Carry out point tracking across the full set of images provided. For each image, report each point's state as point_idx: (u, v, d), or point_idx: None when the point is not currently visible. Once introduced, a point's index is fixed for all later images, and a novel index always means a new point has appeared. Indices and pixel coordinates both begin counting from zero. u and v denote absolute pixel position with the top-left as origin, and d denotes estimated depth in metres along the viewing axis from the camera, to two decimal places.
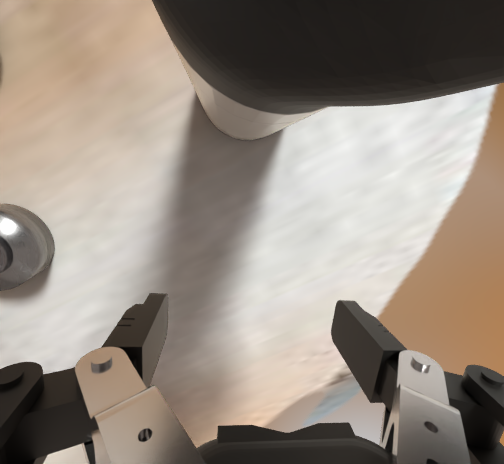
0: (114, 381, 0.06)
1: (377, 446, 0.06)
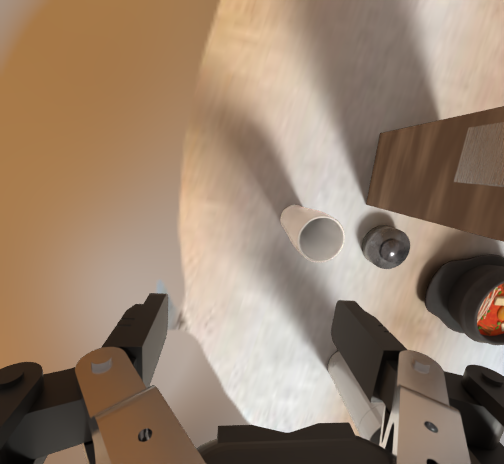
0: (114, 381, 0.06)
1: (377, 446, 0.06)
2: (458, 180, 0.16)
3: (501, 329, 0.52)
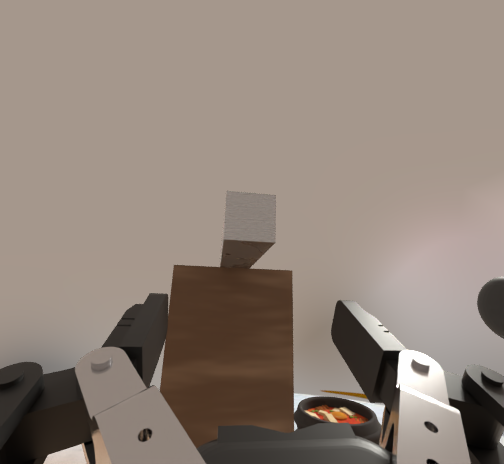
0: (114, 381, 0.06)
1: (377, 446, 0.06)
2: (273, 237, 0.16)
3: (354, 414, 0.54)
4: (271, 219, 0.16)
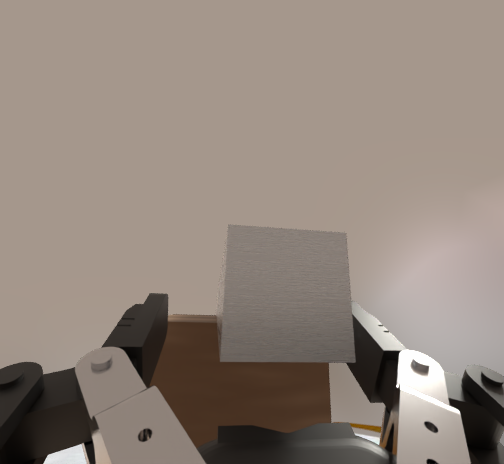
0: (114, 381, 0.06)
1: (377, 446, 0.06)
2: (350, 347, 0.06)
3: None
4: (341, 297, 0.06)
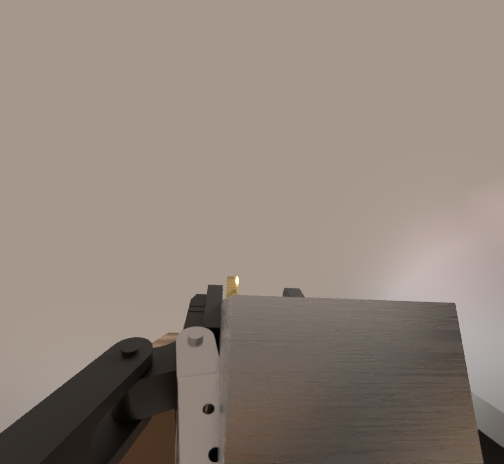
0: (213, 353, 0.08)
1: None
2: None
3: None
4: (462, 444, 0.03)
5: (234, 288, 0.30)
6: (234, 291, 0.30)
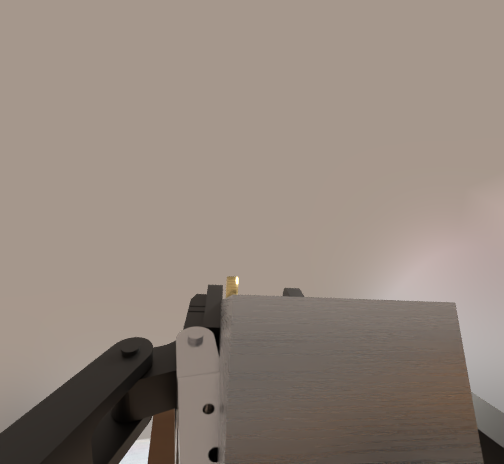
0: (213, 353, 0.08)
1: None
2: None
3: None
4: (462, 444, 0.03)
5: (234, 288, 0.30)
6: (234, 291, 0.30)
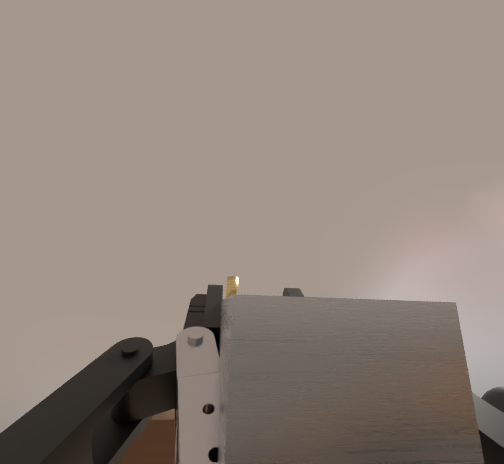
0: (213, 352, 0.08)
1: None
2: None
3: None
4: (462, 444, 0.03)
5: (234, 288, 0.30)
6: (234, 291, 0.30)
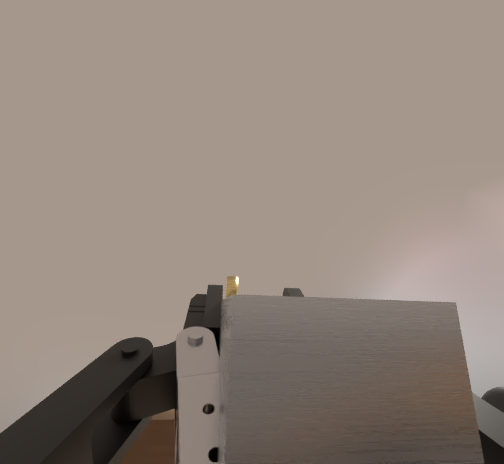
0: (213, 352, 0.08)
1: None
2: None
3: None
4: (462, 444, 0.03)
5: (234, 288, 0.30)
6: (234, 291, 0.30)
